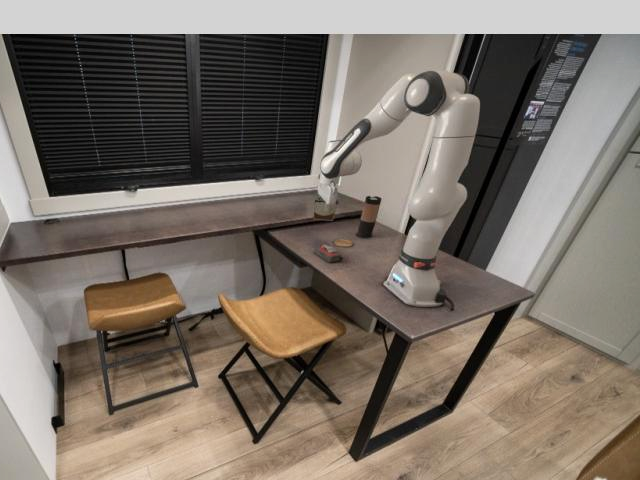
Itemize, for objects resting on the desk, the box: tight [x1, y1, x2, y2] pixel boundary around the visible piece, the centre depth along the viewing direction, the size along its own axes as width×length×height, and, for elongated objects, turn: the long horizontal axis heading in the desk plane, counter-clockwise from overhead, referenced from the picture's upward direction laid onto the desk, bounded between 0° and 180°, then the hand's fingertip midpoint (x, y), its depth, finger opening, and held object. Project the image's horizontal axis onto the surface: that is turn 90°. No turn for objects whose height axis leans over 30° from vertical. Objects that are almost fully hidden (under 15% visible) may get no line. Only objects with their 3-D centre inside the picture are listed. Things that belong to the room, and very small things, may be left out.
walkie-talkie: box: [315, 241, 344, 263], centre depth 145 cm, size 9×4×20 cm
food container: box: [312, 195, 340, 222], centre depth 151 cm, size 12×6×10 cm, turn 85°
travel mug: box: [357, 195, 382, 239], centre depth 161 cm, size 8×8×20 cm
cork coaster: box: [333, 238, 353, 248], centre depth 157 cm, size 9×9×1 cm
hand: (324, 208), depth 151 cm, fingers closed on food container, 5 cm apart
